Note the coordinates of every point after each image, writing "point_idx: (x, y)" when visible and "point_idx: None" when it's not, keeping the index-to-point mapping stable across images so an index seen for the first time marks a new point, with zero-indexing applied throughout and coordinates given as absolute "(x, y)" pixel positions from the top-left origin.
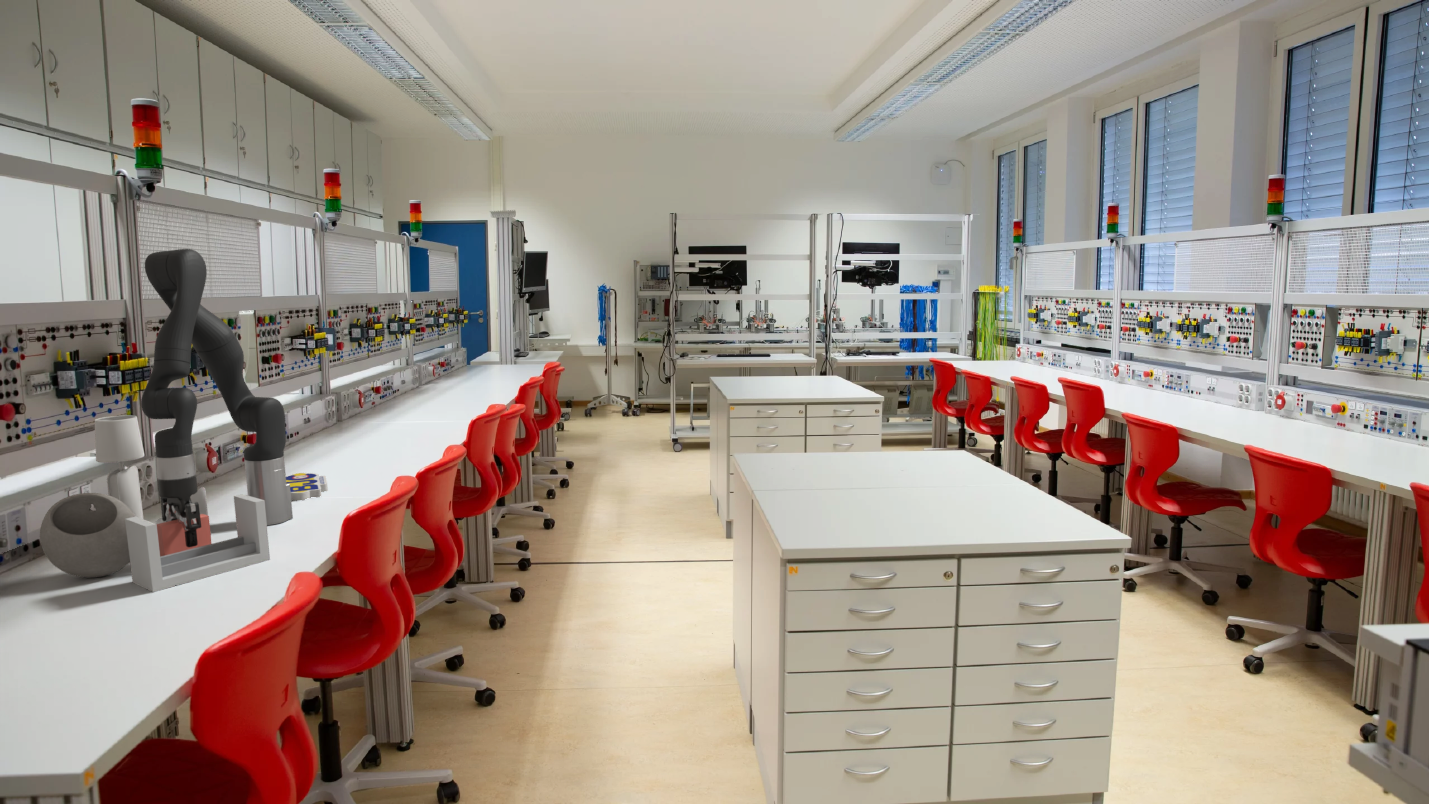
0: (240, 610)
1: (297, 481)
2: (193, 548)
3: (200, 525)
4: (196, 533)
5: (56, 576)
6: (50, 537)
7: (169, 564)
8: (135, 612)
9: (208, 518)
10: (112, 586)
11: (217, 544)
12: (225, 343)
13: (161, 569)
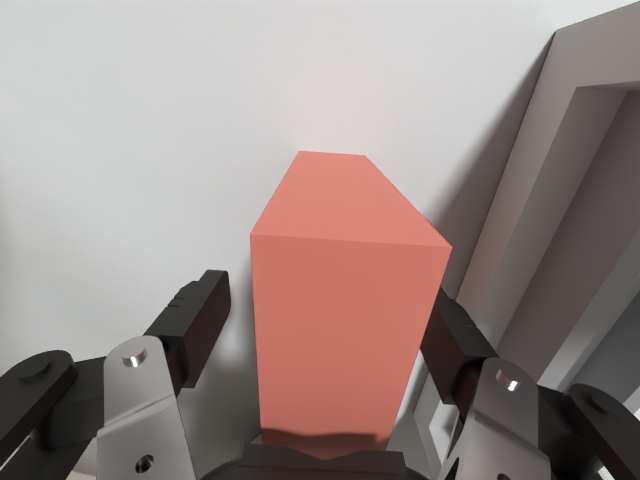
0: None
1: None
2: (551, 364)
3: (626, 416)
4: (471, 334)
5: (191, 454)
6: None
7: None
8: (603, 467)
9: (432, 235)
10: (391, 436)
11: (632, 273)
12: None
13: (604, 475)
